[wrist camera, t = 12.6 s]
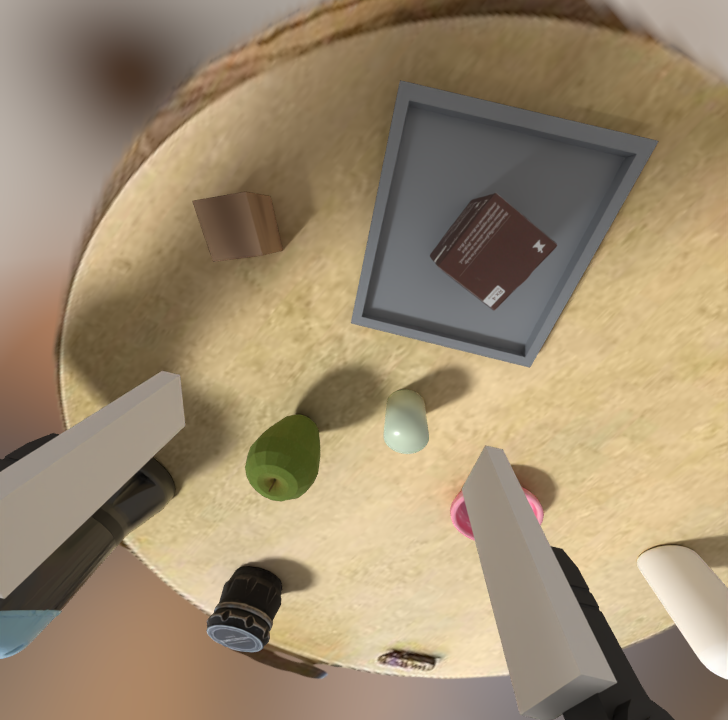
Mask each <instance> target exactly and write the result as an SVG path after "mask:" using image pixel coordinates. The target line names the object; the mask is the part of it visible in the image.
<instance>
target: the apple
mask: <svg viewBox="0 0 728 720" xmlns="http://www.w3.org/2000/svg"><path fill="white" fill-rule="evenodd" d="M319 462H320V439H319V430H318V428H317V426H316V424H315V423H314V422H313V421H312V420H311V419H310V418H308V417H306V416H304V415H301V414H299V415H291V416H287V417H285V418H284V419H282V420H281V421H279V422H277V423H276V424H274V425H273V426H271V427H270V428H269V429H268V430H266V431H265V432H264V433H263V434H262V435H261V436H260V437H259V438H258V439H257V440H256V441H255V443H254V444H253V445H252V446H251V447H250V450H249V453H248V456H247V461H246V466H245V470H246V475H247V478H248V480H249V482H250V484H251V485H252V487H253V488H254V489H255V490H256V491H257V492H258V493H260V494H261V495H262V496H264V497H266V498H268V499H270V500H275V501H285V500H290V499H296V498H299V497H300V496H301V495H303V494H304V493H305V492H306V491H307V490H308V489H309V488H310V487H311V485H312V484H313V483H314V481H315V479H316V477H317V475H318V469H319Z"/></svg>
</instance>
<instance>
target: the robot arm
mask: <svg viewBox="0 0 728 720" xmlns="http://www.w3.org/2000/svg"><path fill="white" fill-rule="evenodd" d="M184 426H185V417H184V408H183V398H182V388H181V379H180V375H178V374H174V373H170V372H165V371H161V372H159V373H158V374H156V375H155V376H153V377H151V378H150V379H148V380H147V381H145V382H143V383H142V384H140V385H139V386H137V387H135V388H134V389H132V390H131V391H129V392H127V393H126V394H124V395H123V396H121V397H119V398H118V399H116V400H115V401H113V402H111V403H110V404H108V405H107V406H105V407H103V408H102V409H100V410H99V411H97V412H95V413H94V414H92V415H91V416H89V417H87V418H86V419H84V420H83V421H81V422H79V423H78V424H76V425H75V426H73V427H71V428H70V429H68V430H67V431H65V432H63V433H62V434H60V435H59V434H54V433H52V434H50V435H47V436H44V437H42V438H39V439H37V440H34V441H32V442H29V443H27V444H25V445H24V446H22V447H20V448H18V449H17V450H15V451H13V452H12V453H10V454H8V455H7V456H5V458H4V459H0V659H2V658H7V657H10V656H12V655H14V654H16V653H18V652H20V651H21V650H23V649H24V648H26V647H27V646H28V645H29V644H30V643H31V642H32V641H33V640H34V639H35V638H36V637H37V636H38V634H40V633H41V632H42V630H43V629H44V628H45V627H46V626H47V625H48V624H49V623H50V622H51V621H52V620H53V619H54V618H55V617H56V616H58V615H59V614H60V613H61V612H62V611H61V610H62V609H63V608H64V607H65V606H66V604H67V603H68V602H69V601H70V600H71V599H72V598H73V596H74V595H75V594H76V593H77V592H78V591H79V589H80V588H81V587H82V586H83V585H84V584H85V582H86V581H87V580H88V579H89V578H90V577H91V576H92V574H93V573H94V572H95V571H96V570H97V569H98V568H99V566H100V565H101V564H102V563H103V562H104V561H105V559H106V558H107V557H108V556H109V555H110V554H111V552H112V551H113V550H114V549H115V548H116V547H117V546H118V545H119V543H120V542H121V541H122V540H123V539H124V538H125V537H126V536H127V535H128V534H129V533H130V532H132V531H133V530H135V529H136V528H137V527H139V526H140V525H142V524H143V523H144V522H146V521H147V520H149V519H150V518H151V517H153V516H154V515H155V514H157V513H158V512H160V511H161V510H162V509H163V508H164V507H165V506H166V505H167V504H168V503H169V501H170V500H171V499H172V498H173V496H174V493H175V486H174V482H173V480H172V478H171V476H170V475H169V473H168V472H167V471H166V470H165V468H164V467H163V466H162V465H161V464H159V463H158V462H157V461H156V460H154V459H153V458H152V457H153V456H154V455H155V454H156V453H157V452H158V451H159V450H160V449H161V448H163V447H164V446H165V445H166V444H167V443H168V442H169V441H170V440H171V439H172V438H173V437H174V436H175V435H176V434H177V433H178V432H179V431H180V430H181V429H182V428H183V427H184ZM462 493H463V497H464V500H465V504H466V508H467V512H468V516H469V520H470V524H471V527H472V531H473V535H474V539H475V543H476V547H477V551H478V554H479V558H480V562H481V566H482V570H483V574H484V578H485V581H486V585H487V589H488V593H489V597H490V601H491V605H492V608H493V612H494V616H495V620H496V624H497V628H498V632H499V635H500V639H501V643H502V647H503V651H504V655H505V659H506V662H507V666H508V670H509V674H510V678H511V682H512V686H513V689H514V693H515V697H516V701H517V705H518V709H519V713H520V715H522V716H526V717H531V718H535V719H540V720H554V719H556V718H557V717H559V716H561V715H562V714H563V716H564V719H565V720H674V719H673V718H672V717H671V716H670V714H669V713H668V712H667V711H665V710H664V709H662V708H661V707H660V706H659V705H657V704H656V703H655V702H653V701H651V700H650V698H649V697H648V695H647V694H646V692H645V691H644V689H643V687H642V686H641V684H640V682H639V680H638V678H637V676H636V675H635V673H634V671H633V669H632V667H631V665H630V663H629V662H628V660H627V658H626V656H625V654H624V652H623V651H622V649H621V647H620V645H619V643H618V641H617V639H616V638H615V636H614V634H613V632H612V630H611V628H610V626H609V625H608V623H607V621H606V619H605V617H604V615H603V613H602V612H601V611H599V606H598V604H597V602H596V600H595V599H594V597H593V595H592V593H590V592H589V588H588V586H587V584H586V582H585V580H584V578H583V576H582V575H581V573H580V571H579V569H578V567H577V566H576V565H575V564H574V563H573V561H572V560H571V559H570V558H569V557H568V555H567V554H566V553H565V552H564V550H563V549H560V548H556V547H552V546H550V544H549V542H548V540H547V538H546V536H545V534H544V532H543V530H542V528H541V526H540V524H539V522H538V520H537V518H536V516H535V514H534V512H533V510H532V508H531V506H530V504H529V502H528V500H527V498H526V495H525V493H524V491H523V489H522V487H521V485H520V483H519V481H518V479H517V477H516V475H515V473H514V471H513V469H512V467H511V465H510V463H509V461H508V459H507V457H506V455H505V453H504V451H503V449H499V448H494V447H490V446H486V445H485V447H484V449H483V451H482V452H481V454H480V456H479V458H478V460H477V462H476V463H475V465H474V467H473V469H472V471H471V473H470V474H469V476H468V478H467V480H466V482H465V484H464V486H463V487H462Z"/></svg>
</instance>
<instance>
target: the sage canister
mask: <svg viewBox="0 0 728 720" xmlns="http://www.w3.org/2000/svg"><path fill="white" fill-rule="evenodd" d="M384 440H385V443H386V444H387V445H388V447H390V448H391V449H392V450H394V451H396V452H399V453H403V454H411V453H416V452H418V451H420V450H422V449H423V448H424V447H425V446H426V445H427V443H428V440H429V433H428V425H427V417H426V409H425V402H424V400H423V398H422V397H421V395H420V394H418V393H417V392H415V391H412V390H407V389H403V390H398V391H396V392H394V393H392V394H391V395H390V396H389V398H388V400H387V403H386V415H385V426H384Z"/></svg>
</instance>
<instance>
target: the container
mask: <svg viewBox="0 0 728 720" xmlns="http://www.w3.org/2000/svg"><path fill="white" fill-rule="evenodd" d="M281 591H282V585H281V581H280V579H279V578H277V577H276V576H275V575H274V574H272V573H271V572H269V571H266V570H263V569H260V568H254V567H241V568H239V569H237V570H236V571H235V572H234V574H233V575H232V577H231V578H230V580H229V581H227V582H226V583H225V585H224V588H223V591H222V595H221V598H220V602H219V604H218V605H217V606H216V607H215V610H214V613H213V614H212V615H211V616H210V617H209V618H208V620H207V633H208V635H209V636H210V637H211V638H212V639H213V640H214V641H216V642H217V643H220V644H222V645H223V646H226V647H229V648H230V649H234V650H237V651H242V652H244V651H245V652H256V651H260V650H261V649H262V648H263V647H264V646H265V645H266V644H267V643H268V642H269V639H270V634H269V631H270V630H271V628H272V625H273V619H274V617H275V615H276V613H277V611H278V609H279V608H280V605H281Z"/></svg>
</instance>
